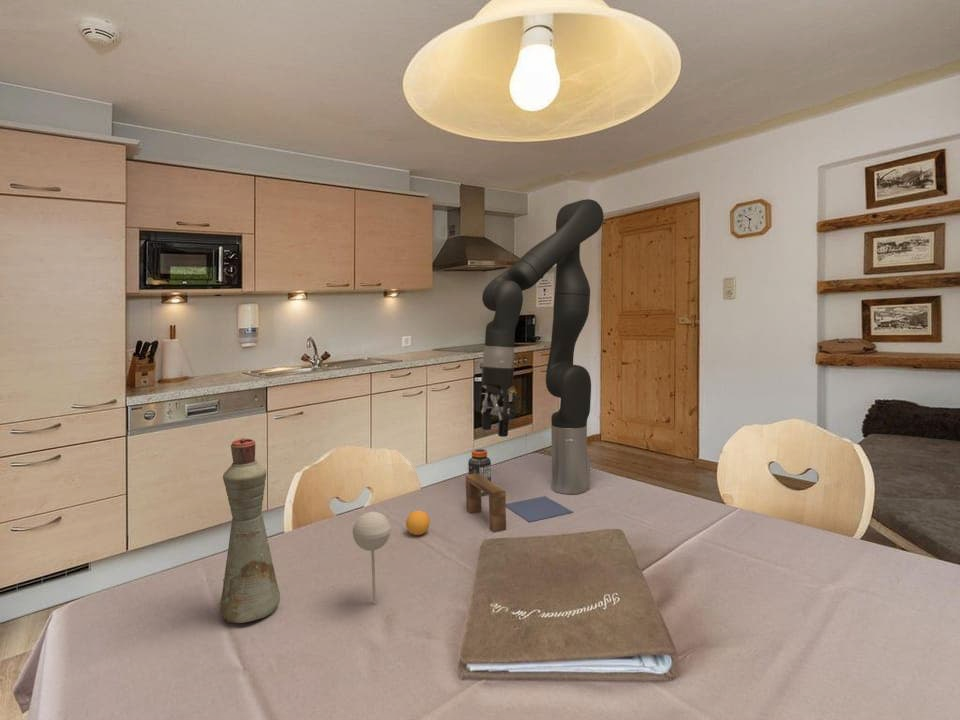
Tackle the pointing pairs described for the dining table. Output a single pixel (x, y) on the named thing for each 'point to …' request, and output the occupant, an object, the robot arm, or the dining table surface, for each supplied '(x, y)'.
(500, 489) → the bridge
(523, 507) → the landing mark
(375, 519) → the lollipop
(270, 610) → the bottle
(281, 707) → the dining table surface
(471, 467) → the pill bottle
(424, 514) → the ball
